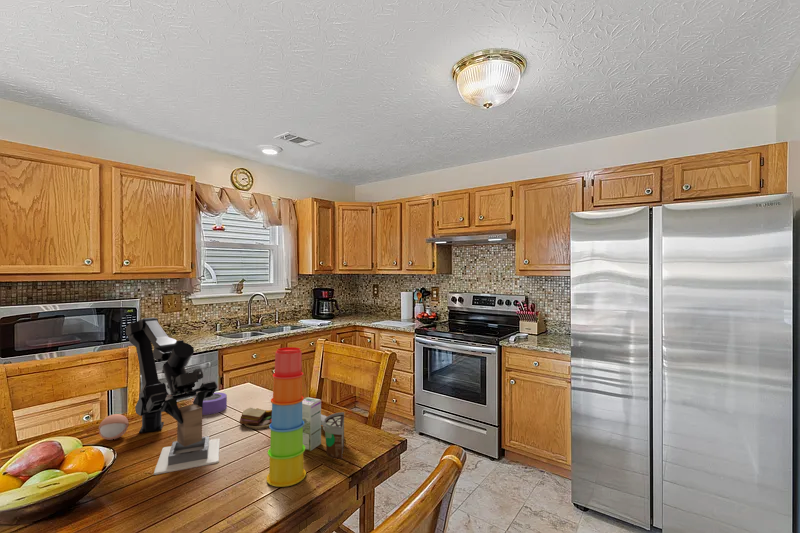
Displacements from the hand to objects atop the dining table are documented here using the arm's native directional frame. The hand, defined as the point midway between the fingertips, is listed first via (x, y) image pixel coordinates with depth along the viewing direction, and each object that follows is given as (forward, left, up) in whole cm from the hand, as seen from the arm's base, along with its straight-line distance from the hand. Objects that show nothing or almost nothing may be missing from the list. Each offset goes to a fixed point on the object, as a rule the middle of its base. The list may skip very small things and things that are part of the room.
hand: (191, 420), depth 114 cm
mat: (-1, -1, -11) cm, 11 cm away
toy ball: (-24, -25, -11) cm, 36 cm away
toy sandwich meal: (-18, +20, -11) cm, 30 cm away
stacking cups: (+23, +24, -11) cm, 35 cm away
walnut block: (-1, -1, -7) cm, 7 cm away
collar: (-1, -1, -11) cm, 11 cm away
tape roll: (-40, +3, -11) cm, 42 cm away
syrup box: (+7, +33, -11) cm, 36 cm away
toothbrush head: (-6, +39, -11) cm, 41 cm away
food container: (+14, +39, -11) cm, 43 cm away
